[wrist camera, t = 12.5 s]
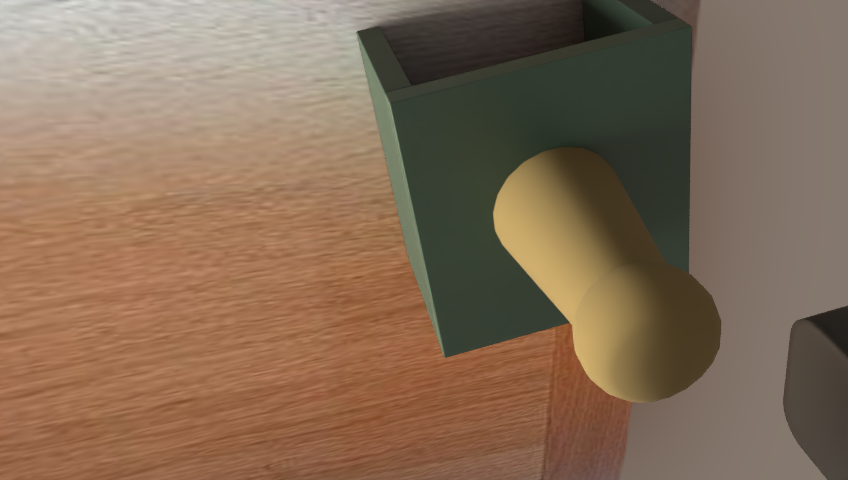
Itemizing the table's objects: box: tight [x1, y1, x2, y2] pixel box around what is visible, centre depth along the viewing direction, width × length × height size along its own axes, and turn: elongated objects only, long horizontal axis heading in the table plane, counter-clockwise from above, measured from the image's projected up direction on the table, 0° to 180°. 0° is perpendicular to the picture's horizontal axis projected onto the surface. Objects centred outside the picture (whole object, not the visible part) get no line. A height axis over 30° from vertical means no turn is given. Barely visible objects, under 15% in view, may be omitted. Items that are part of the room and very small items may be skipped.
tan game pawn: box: [493, 147, 721, 402], centre depth 32 cm, size 6×6×11 cm
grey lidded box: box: [357, 0, 692, 358], centre depth 41 cm, size 14×13×9 cm
